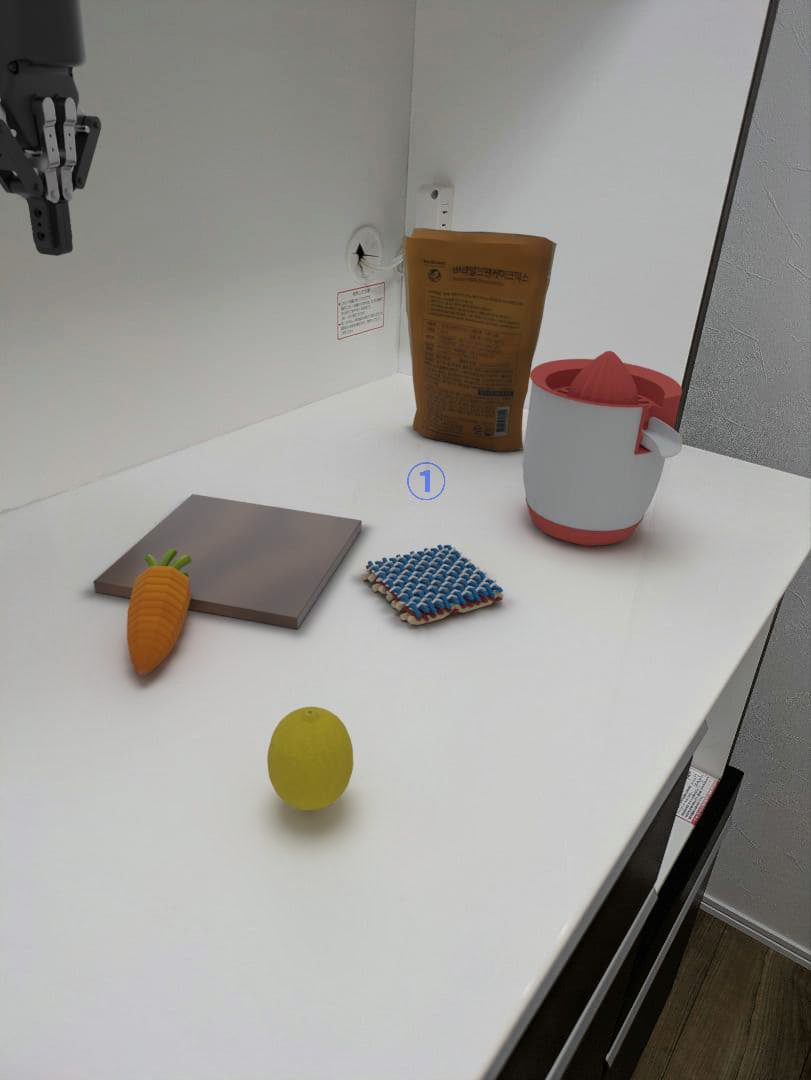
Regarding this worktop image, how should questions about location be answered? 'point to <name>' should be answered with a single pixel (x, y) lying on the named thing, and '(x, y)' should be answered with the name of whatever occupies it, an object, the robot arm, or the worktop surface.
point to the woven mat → (432, 584)
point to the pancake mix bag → (474, 331)
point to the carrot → (157, 611)
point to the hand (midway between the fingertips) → (54, 253)
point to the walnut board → (242, 557)
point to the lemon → (310, 758)
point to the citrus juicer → (596, 446)
